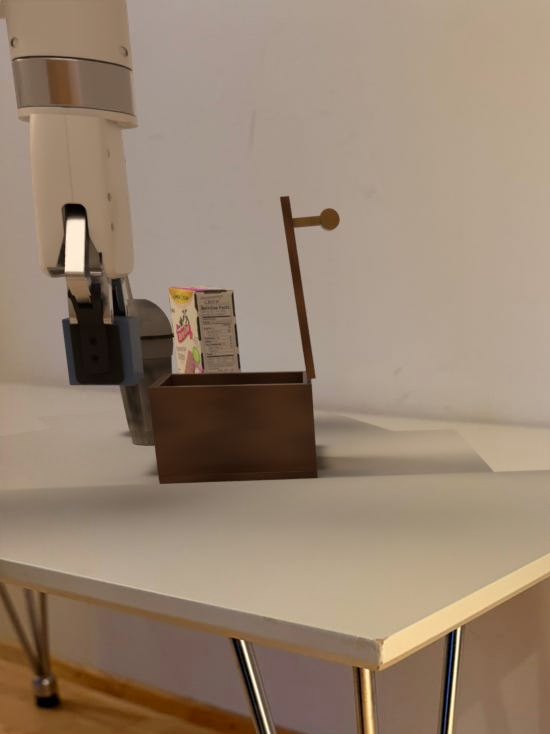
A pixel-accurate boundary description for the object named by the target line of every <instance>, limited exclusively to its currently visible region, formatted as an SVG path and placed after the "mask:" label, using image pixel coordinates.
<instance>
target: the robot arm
mask: <svg viewBox="0 0 550 734" xmlns="http://www.w3.org/2000/svg"><path fill="white" fill-rule="evenodd" d="M4 19H5V24H6V33H7V39H8V46H9V55H10V62H11V69H12V77H13V78H12V79H13V84H14V85H13V86H14V93H15V100H16V108H17V116H18V120H20V121H21V122H25V123H29V159H30V173H31V188H32V201H33V211H34V222H35V223H34V224H35V235H36V245H37V255H38V264H39V268H40V270H41V271H42V273H44V275H46V276H47V277H48V278H50V279H53V278H56V279H57V278H64V277H65V281H66V295H67V309H68V318H69V320H70V323H71V324H70V325H69V326H70V334H71V342H72V351H73V359H74V367H75V375H76V380H77V382H79V383H80V384H120V383H122V382H123V381H124V370H123V360H122V351H121V341H120V332H119V325H113V324H114V317H113V316H129V311H128V303H127V299H128V297H127V292H126V288H125V281H124V277H126V276H127V275H128V276H129V275H130V274H132V273H133V271H134V266H135V259H134V258H135V257H134V256H135V255H134V239H133V227H132V225H133V224H132V214H131V213H132V212H131V203H130V193H129V183H128V175H127V167H126V158H125V150H124V149H125V148H124V140H123V133H122V132H123V131H122V130H133V129H136V128H138V127H139V124H138V118H137V117H138V115H137V104H136V103H137V102H136V92H135V82H134V81H135V80H134V73H133V71H134V70H133V58H132V48H131V36H130V23H129V13H128V1H127V0H0V20H4Z"/></svg>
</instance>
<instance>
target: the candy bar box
mask: <svg viewBox="0 0 550 734" xmlns="http://www.w3.org/2000/svg"><path fill="white" fill-rule="evenodd" d="M167 292H168V293H167V294H168V299H169V300H168V302H169V310H170V316H171V327H172V333H173V334H174V337H173V343H174V349H175V357H176V365H177V373H224V372H242V366H241V358H240V357H241V355H240V346H239V336H238V333H239V332H238V325H237V317H236V306H235V296H234V295H235V294H234V289H231V288H223V287H216V286H215V287H214V286H206V285H182V286H177V285H176V286H170V287H167Z"/></svg>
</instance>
